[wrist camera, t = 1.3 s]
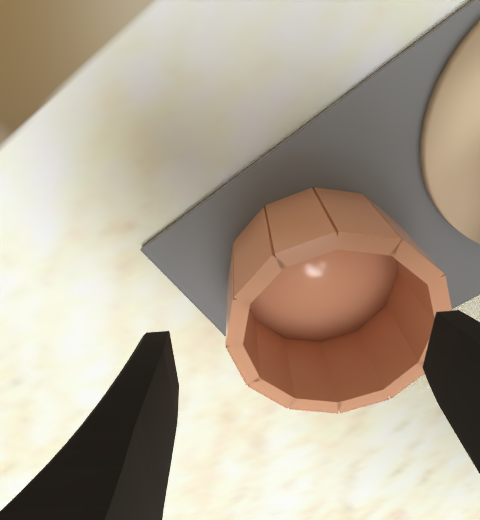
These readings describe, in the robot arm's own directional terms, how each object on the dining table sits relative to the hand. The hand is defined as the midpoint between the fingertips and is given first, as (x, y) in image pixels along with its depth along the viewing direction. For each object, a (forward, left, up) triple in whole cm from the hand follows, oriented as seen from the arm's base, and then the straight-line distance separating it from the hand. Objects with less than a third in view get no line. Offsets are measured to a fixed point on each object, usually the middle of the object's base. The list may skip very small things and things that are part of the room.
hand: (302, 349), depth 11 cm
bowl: (-3, +3, -10) cm, 10 cm away
